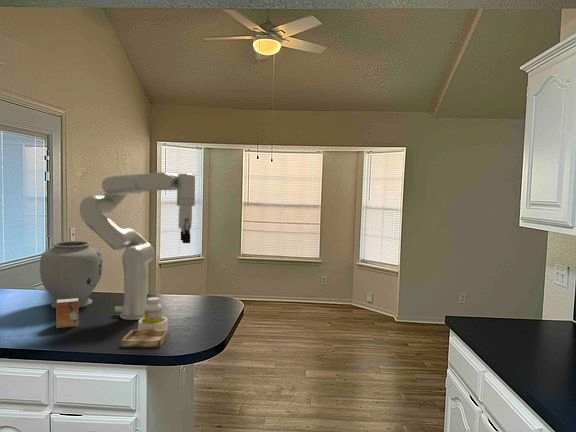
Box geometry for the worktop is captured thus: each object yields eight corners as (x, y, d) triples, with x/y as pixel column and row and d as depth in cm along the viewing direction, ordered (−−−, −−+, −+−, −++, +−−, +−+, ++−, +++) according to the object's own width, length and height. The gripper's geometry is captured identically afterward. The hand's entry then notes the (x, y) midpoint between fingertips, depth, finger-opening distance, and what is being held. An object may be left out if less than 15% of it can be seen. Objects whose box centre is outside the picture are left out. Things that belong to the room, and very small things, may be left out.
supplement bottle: (146, 327, 173) (147, 296, 172) (163, 327, 173) (163, 296, 173) (142, 332, 166) (142, 300, 165) (159, 332, 167) (160, 300, 166)
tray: (120, 346, 151) (120, 340, 150) (132, 335, 163) (132, 329, 162) (160, 347, 151) (160, 340, 151) (168, 336, 163) (168, 330, 163)
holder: (134, 334, 164) (134, 324, 164) (143, 325, 175) (143, 315, 175) (163, 334, 164) (163, 324, 164) (170, 325, 175) (170, 316, 175)
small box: (56, 328, 168) (56, 302, 168) (56, 324, 173) (56, 299, 173) (78, 326, 172) (78, 300, 171) (78, 322, 177) (78, 297, 176)
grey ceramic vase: (113, 303, 207) (113, 242, 205) (59, 315, 185) (59, 248, 183) (81, 294, 221) (81, 238, 220) (28, 305, 199) (28, 242, 197)
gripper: (175, 201, 189) (175, 239, 190) (178, 202, 173) (177, 244, 174) (192, 202, 191) (192, 239, 192) (196, 203, 175) (196, 244, 176)
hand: (185, 241), depth 183 cm, fingers open, 9 cm apart
